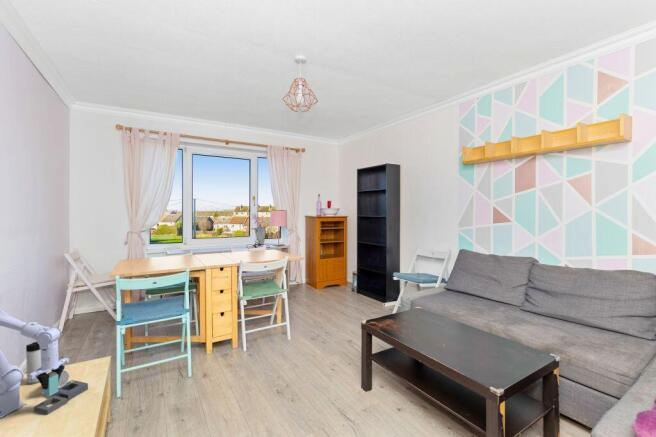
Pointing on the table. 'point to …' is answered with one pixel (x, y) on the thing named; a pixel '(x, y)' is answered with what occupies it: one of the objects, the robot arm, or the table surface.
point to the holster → (47, 410)
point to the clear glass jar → (63, 378)
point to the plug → (51, 384)
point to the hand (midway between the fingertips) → (50, 385)
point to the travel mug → (33, 360)
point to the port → (71, 389)
